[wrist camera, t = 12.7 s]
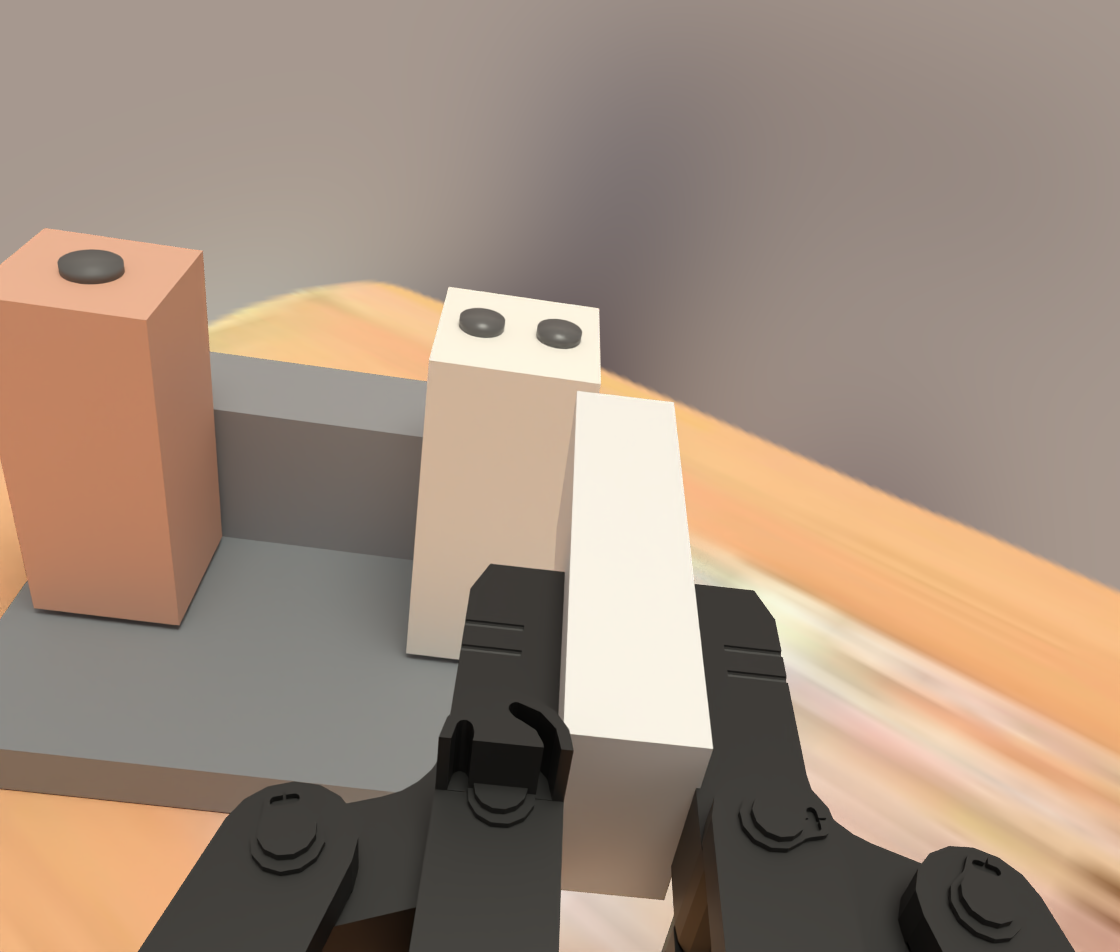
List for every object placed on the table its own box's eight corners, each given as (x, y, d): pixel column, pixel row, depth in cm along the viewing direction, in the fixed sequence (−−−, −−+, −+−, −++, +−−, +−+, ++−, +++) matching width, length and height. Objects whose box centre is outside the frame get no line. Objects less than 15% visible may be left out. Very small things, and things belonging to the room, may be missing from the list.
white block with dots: (544, 669, 35) (602, 374, 28) (406, 653, 35) (430, 350, 28) (548, 578, 40) (600, 300, 32) (424, 562, 39) (449, 278, 32)
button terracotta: (179, 625, 35) (145, 310, 28) (34, 608, 34) (-39, 285, 27) (222, 536, 39) (202, 242, 32) (92, 520, 38) (43, 219, 31)
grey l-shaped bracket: (559, 848, 32) (600, 681, 28) (-70, 781, 31) (-136, 593, 26) (566, 554, 44) (596, 404, 40) (116, 497, 43) (93, 335, 39)
